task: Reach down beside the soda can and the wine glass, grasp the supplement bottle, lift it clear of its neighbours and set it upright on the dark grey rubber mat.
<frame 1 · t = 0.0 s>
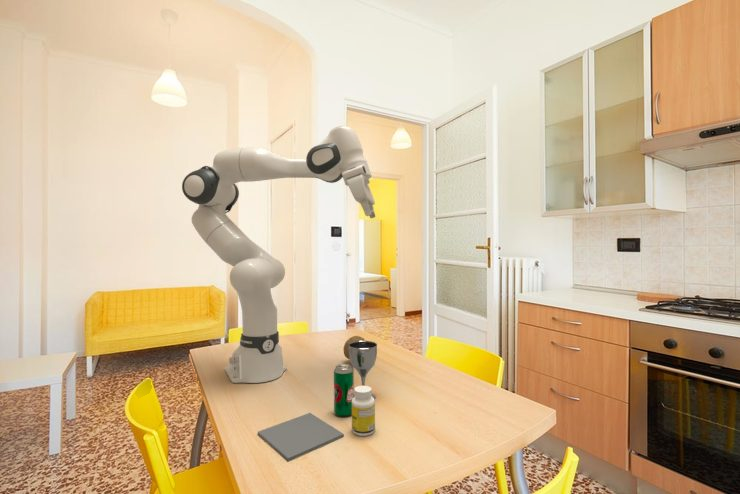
hand: (371, 216, 115), 52 cm above the table, tool tilted 20°, fingers open, 8 cm apart
wine glass: (363, 398, 103), on the table
soda can: (343, 413, 93), on the table
supplement bottle: (363, 431, 85), on the table
mat: (300, 435, 83), on the table
natural sponge: (355, 364, 132), on the table
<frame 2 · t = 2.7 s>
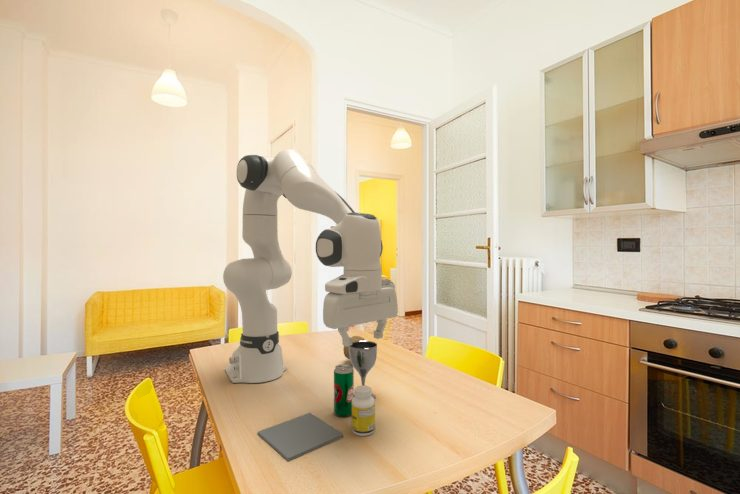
hand: (363, 341, 84), 21 cm above the table, tool pointing down, fingers open, 8 cm apart
nothing on the table moved.
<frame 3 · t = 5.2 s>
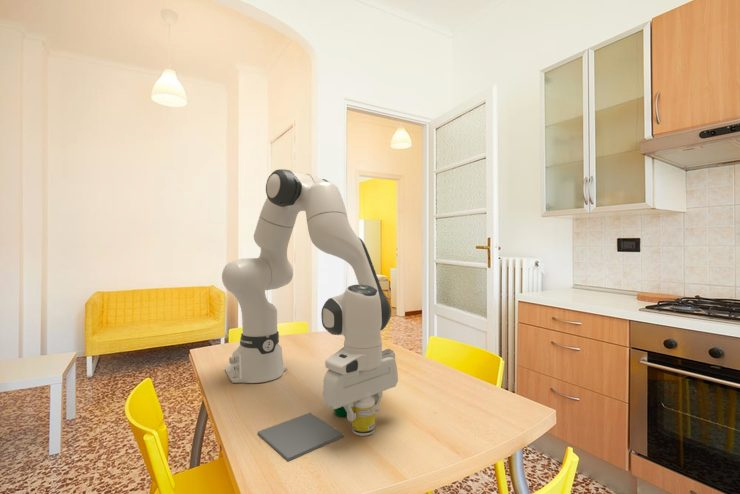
hand: (363, 415, 85), 4 cm above the table, tool pointing down, fingers closed on supplement bottle, 5 cm apart
supplement bottle: (363, 431, 85), on the table, touching gripper
everything else where it was.
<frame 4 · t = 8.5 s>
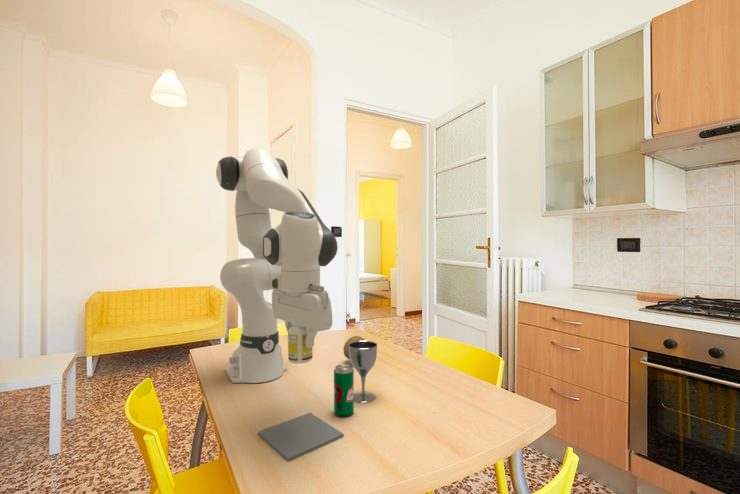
hand: (300, 343, 83), 21 cm above the table, tool pointing down, fingers closed on supplement bottle, 5 cm apart
supplement bottle: (300, 361, 83), point 17 cm above the table, touching gripper
everything else where it was.
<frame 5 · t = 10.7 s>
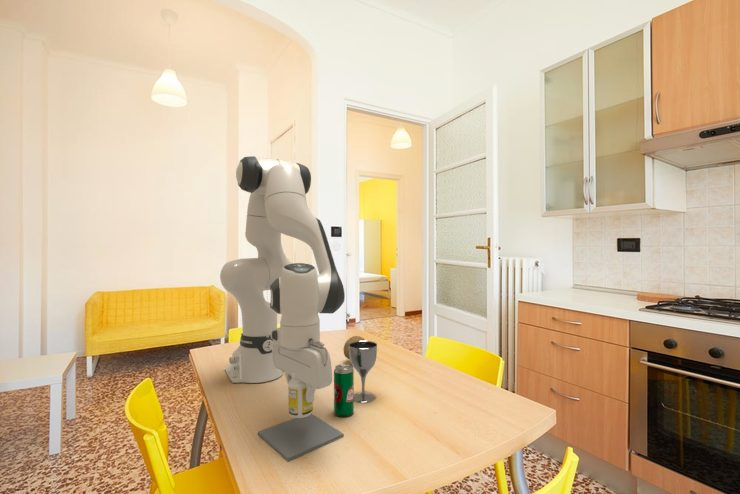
hand: (300, 396, 82), 9 cm above the table, tool pointing down, fingers closed on supplement bottle, 5 cm apart
supplement bottle: (300, 414, 82), point 5 cm above the table, touching gripper
everything else where it was.
when the fingers open (6 cm above the table, at t = 12.3 s): supplement bottle drops 1 cm, resting on mat.
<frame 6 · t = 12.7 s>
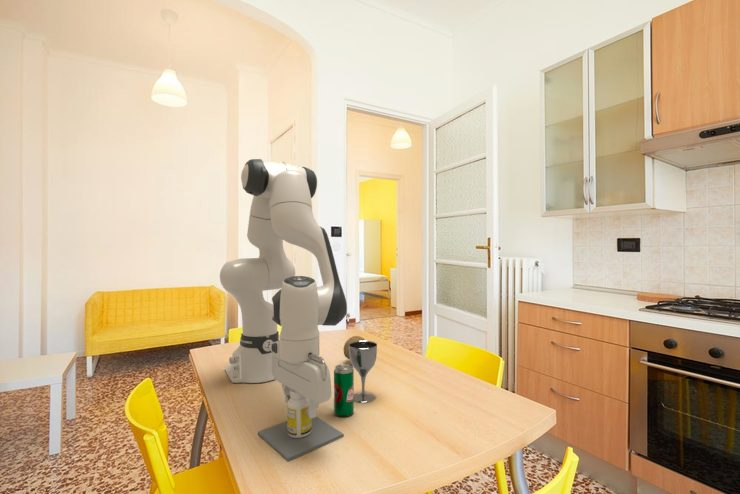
hand: (300, 409, 83), 6 cm above the table, tool pointing down, fingers open, 8 cm apart
supplement bottle: (299, 433, 83), resting on mat
everything else where it was.
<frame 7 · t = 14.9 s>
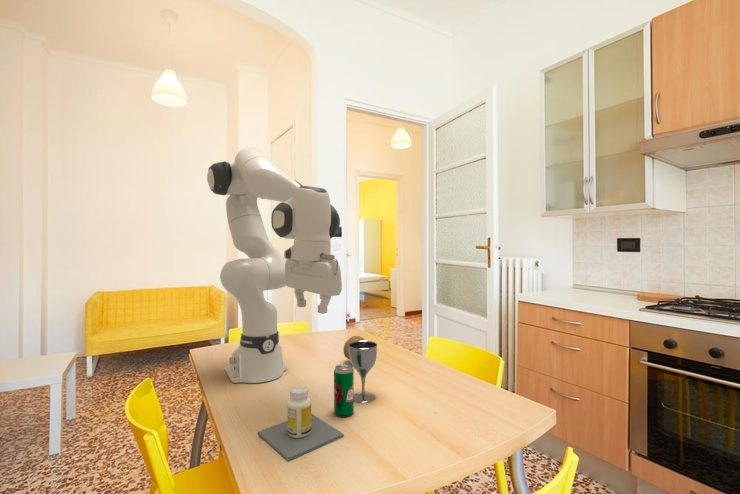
hand: (311, 309, 88), 27 cm above the table, tool pointing down, fingers open, 8 cm apart
nothing on the table moved.
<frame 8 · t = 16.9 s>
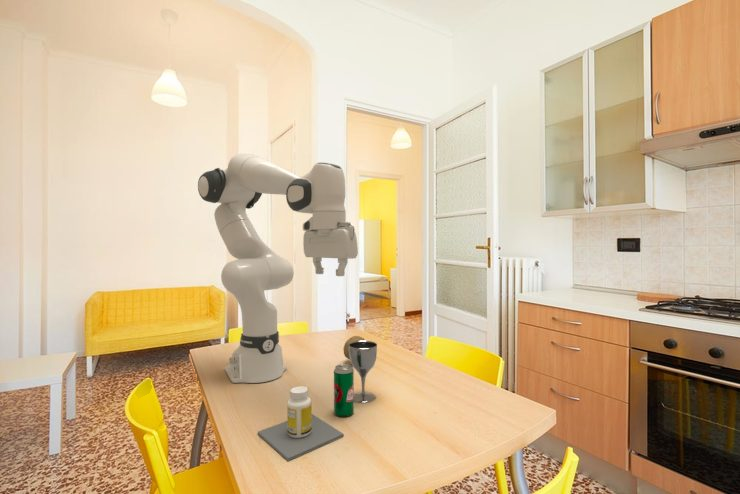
hand: (329, 275, 98), 35 cm above the table, tool pointing down, fingers open, 8 cm apart
nothing on the table moved.
at the end: supplement bottle inside the target area on the mat (0.2 cm from its centre), point 0.4 cm above the mat's base; supplement bottle tilted 0°; supplement bottle touching mat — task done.
